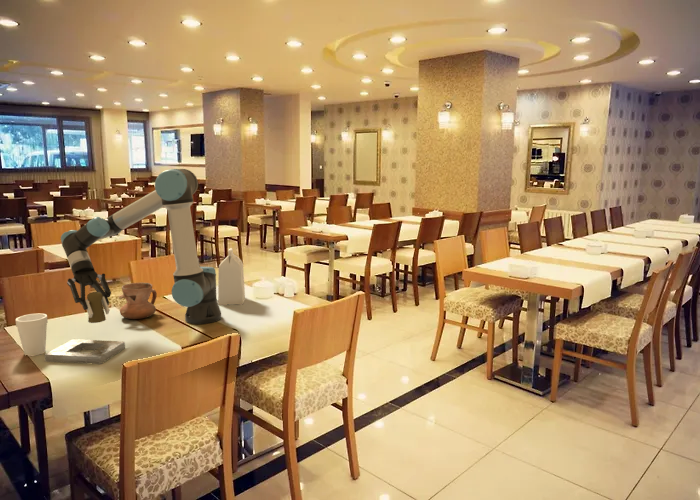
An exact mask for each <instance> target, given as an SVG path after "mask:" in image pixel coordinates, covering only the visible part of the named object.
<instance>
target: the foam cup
mask: <svg viewBox="0 0 700 500" xmlns="http://www.w3.org/2000/svg"><path fill="white" fill-rule="evenodd" d="M15 327H17V332H18V335H19V339H20V344H21V346H22V350H23V354H24V355H25V356H26V355H28V356H27V357H31V356H32V357H34V356H40V355H42V354H44V353H45V352H46V346H47V330H48V329H47V328H48V315H47V314H46V313H38V312H37V313H29V314H24V315H21V316H19V317H16V318H15ZM33 355H34V356H33Z"/></svg>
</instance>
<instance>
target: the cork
mask: <svg viewBox="0 0 700 500" xmlns="http://www.w3.org/2000/svg"><path fill="white" fill-rule="evenodd" d="M86 298H87V299H88V301H89V304H90V307H91V309H92V312H93V316H92V318H90V317H89V316H88V319H87V322H88V323H90V324H96V323H97V324H98V323H103V322H105V321H106V320H107V317H106V313H105V310H104V307H103V305H102V301H101V300H102V298H103V295H102V293H100V292H97V291H92V292H89V293H87V297H86ZM87 299H86V300H87Z"/></svg>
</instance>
